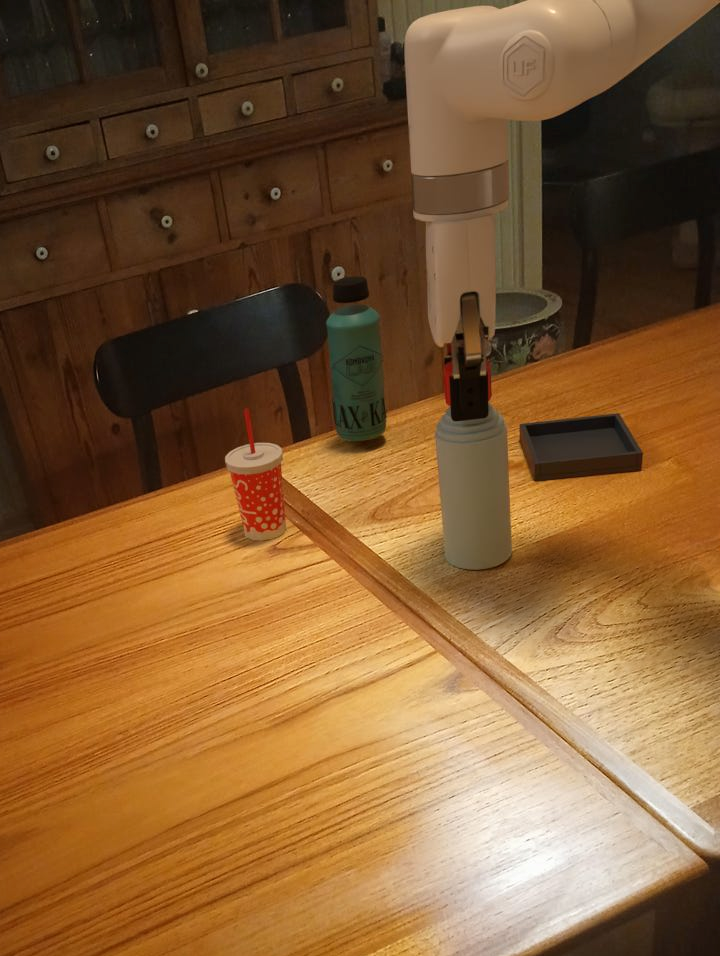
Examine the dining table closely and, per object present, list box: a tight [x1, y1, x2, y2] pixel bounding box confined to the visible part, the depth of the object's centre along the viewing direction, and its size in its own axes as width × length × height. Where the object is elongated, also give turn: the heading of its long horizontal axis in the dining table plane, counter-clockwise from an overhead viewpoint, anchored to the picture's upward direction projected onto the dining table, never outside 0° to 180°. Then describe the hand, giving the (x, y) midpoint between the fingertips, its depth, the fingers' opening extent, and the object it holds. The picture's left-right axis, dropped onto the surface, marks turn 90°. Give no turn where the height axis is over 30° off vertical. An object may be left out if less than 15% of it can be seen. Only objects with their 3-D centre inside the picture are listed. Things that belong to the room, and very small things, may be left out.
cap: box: [442, 358, 493, 407], centre depth 87 cm, size 4×4×3 cm
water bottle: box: [434, 402, 513, 571], centre depth 92 cm, size 6×6×18 cm
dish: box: [519, 412, 644, 482], centre depth 111 cm, size 11×11×2 cm
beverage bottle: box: [325, 275, 388, 442], centre depth 118 cm, size 6×7×20 cm
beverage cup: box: [224, 407, 287, 542], centre depth 104 cm, size 6×6×14 cm
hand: (466, 406), depth 89 cm, fingers closed on cap, 4 cm apart
